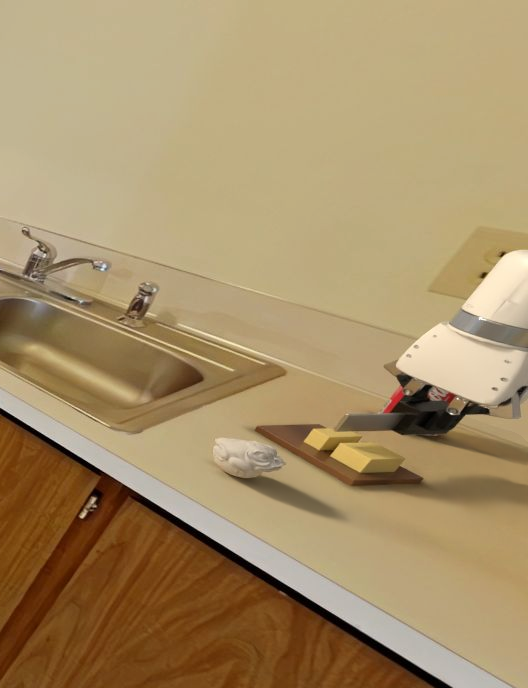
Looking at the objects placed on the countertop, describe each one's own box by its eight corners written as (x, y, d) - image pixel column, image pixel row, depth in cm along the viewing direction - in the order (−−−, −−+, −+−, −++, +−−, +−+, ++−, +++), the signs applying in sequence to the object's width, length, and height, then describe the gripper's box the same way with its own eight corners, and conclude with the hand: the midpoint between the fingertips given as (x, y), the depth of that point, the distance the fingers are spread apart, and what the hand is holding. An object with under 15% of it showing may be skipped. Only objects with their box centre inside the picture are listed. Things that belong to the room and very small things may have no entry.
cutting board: (315, 428, 92) (319, 423, 92) (419, 483, 81) (424, 478, 81) (253, 430, 92) (257, 425, 91) (350, 485, 81) (354, 480, 80)
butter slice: (335, 440, 88) (345, 427, 87) (352, 449, 86) (362, 436, 85) (303, 441, 88) (313, 428, 87) (319, 450, 86) (329, 437, 85)
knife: (423, 423, 85) (443, 400, 83) (446, 434, 83) (467, 410, 81) (324, 425, 85) (342, 402, 83) (345, 436, 82) (364, 412, 81)
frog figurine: (257, 496, 79) (281, 463, 76) (193, 463, 85) (214, 431, 82) (274, 484, 81) (299, 452, 78) (210, 452, 87) (231, 421, 84)
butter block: (362, 455, 85) (373, 441, 84) (394, 472, 82) (406, 458, 81) (329, 456, 85) (340, 442, 84) (360, 473, 82) (371, 459, 80)
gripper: (626, 361, 69) (525, 461, 76) (436, 302, 84) (366, 389, 91) (576, 362, 69) (480, 462, 76) (394, 302, 84) (328, 390, 91)
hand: (419, 422), depth 83 cm, fingers closed on knife, 2 cm apart
